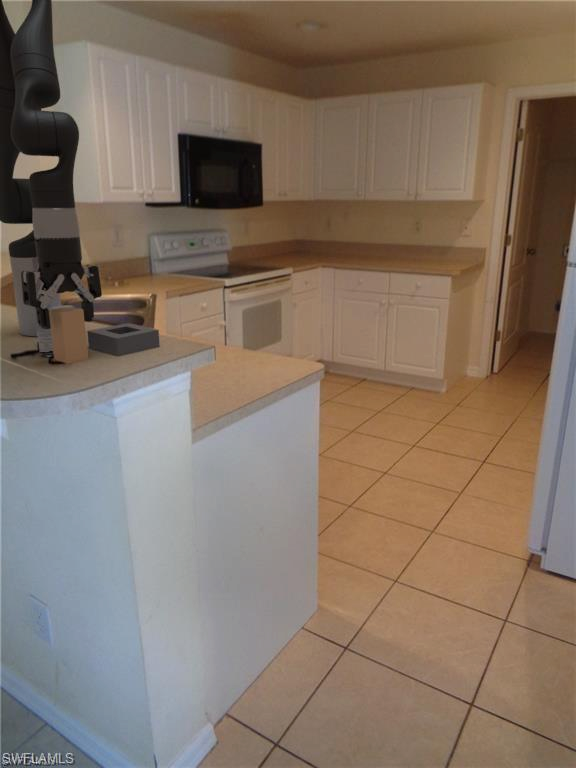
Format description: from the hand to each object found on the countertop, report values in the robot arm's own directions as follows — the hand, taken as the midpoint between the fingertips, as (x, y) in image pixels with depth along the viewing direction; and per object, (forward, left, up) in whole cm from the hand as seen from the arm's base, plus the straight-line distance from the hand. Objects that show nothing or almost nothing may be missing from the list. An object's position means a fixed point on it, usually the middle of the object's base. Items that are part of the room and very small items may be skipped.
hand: (67, 324), depth 105 cm
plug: (0, 0, -7) cm, 7 cm away
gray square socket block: (0, +12, -7) cm, 14 cm away
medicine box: (-9, +3, -7) cm, 12 cm away
